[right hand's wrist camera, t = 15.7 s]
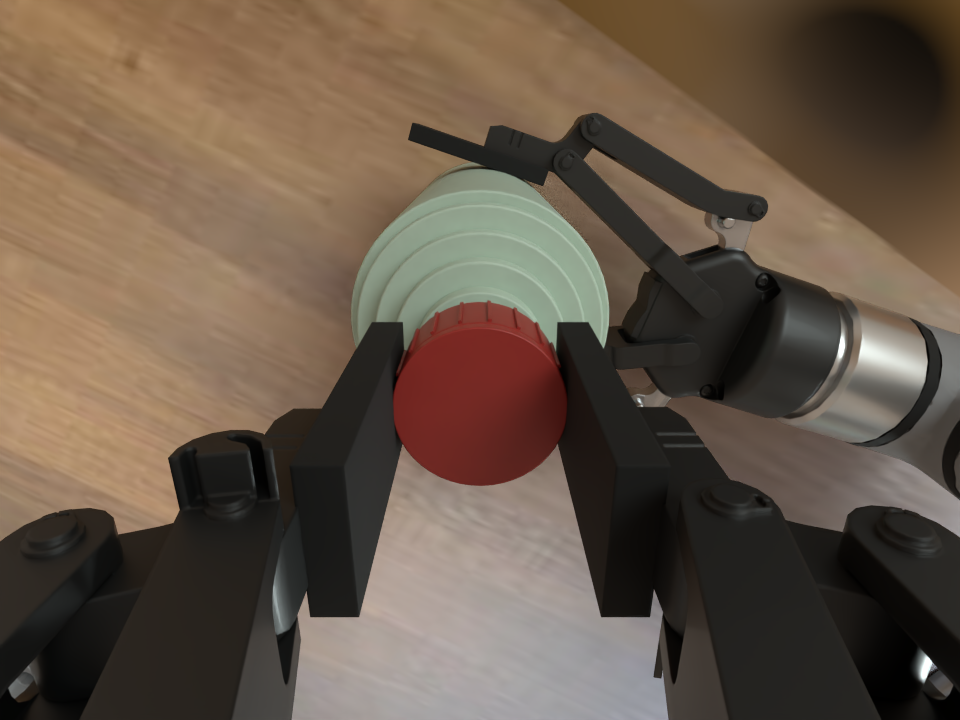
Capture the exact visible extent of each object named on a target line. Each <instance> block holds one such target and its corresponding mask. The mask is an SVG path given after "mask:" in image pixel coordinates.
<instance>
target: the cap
mask: <svg viewBox="0 0 960 720" xmlns="http://www.w3.org/2000/svg"><path fill="white" fill-rule="evenodd" d="M559 368H561V365H560V362H559V359H558V356H557V353H556V351H555V348H554V345H553V343H552V342H551V343H550V342H549V340H548V339H547V337H546V336H545V334H544V333H543V331H542V330H541V329H540V326H539V324H538V323H537V322H535V323H534V322H533V321H532V320H531V319H529V318H528V317H527V316H525V315H524V314H522V313H520V312H519V311H517V308H515V307H514V308H513V309H512V308H510V307H507V306H504V305H500V304H496V303H491V301H489V300H487V302H471V303H463V302H460V305H456V306H453V307H450V308H448V309H446V310H444V311H442V312H440V313H439V312H438V311H437V312H436V313H435V315H434V316H433V317H432V318H431V319H429V320H428V321H427V322H426V323H425V324H424V325H423V326H422V327H421V328H420V329H418V328H417V329H416V330H415V333H414V336H413V339H412V340H411V342H410V344H409V347H408V349H407V350H404V352H403V355H402V358H401V361H400V364H399V367H398V370H397V372H396V375H395V376H397V377H398V378H397V381H396V385H395V388H394V392H393V409H394V424H395V428H396V431H397V434H398V436H399V438H400V440H401V442H402V444H403V445H404V447H405V448H406V450H407V451H408V452H409V454H410V455H411V456H412V457H413V458H414V459H415V460H416V461H417V462H418V463H419V464H420V465H421V466H423V467H424V468H426V469H427V470H428V471H430V472H432V473H433V474H435V475H437V476H439V477H441V478H444V479H446V480H449V481H452V482H456V483H459V484H466V485H476V486H485V485H495V484H500V483H505V482H508V481H511V480H514V479H516V478H519V477H521V476H523V475H525V474H527V473H528V472H530V471H532V470H533V469H535V468H536V467H537V466H538V465H540V464H541V463H542V462H543V461H544V460H545V459H546V458H547V457H548V456H549V455H550V454H551V452H552V451H553V450H554V448H555V447H556V445H557V444H558V442H559V440H560V438H561V436H562V434H563V431H564V428H565V425H566V413H567V392H566V387H565V384H564V381H563V378H562V375H561V373H560V370H559Z"/></svg>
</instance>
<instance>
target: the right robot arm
mask: <svg viewBox="0 0 960 720" xmlns="http://www.w3.org/2000/svg"><path fill="white" fill-rule="evenodd" d="M403 352H404V334H403V322H372V323H371V324H370V326H369V328H368V330H367V331H366V333H365V335H364V337H363V338H362V340H361V342H360V344H359V345H358V347H357V349H356V351H355V352H354V354H353V356H352V357H351V359H350V361H349V363H348V364H347V366H346V368H345V370H344V371H343V373H342V375H341V377H340V378H339V380H338V382H337V384H336V385H335V387H334V389H333V390H332V392H331V394H330V396H329V397H328V399H327V401H326V403H325V404H324V406H323V408H322V409H292V410H291V411H289V412H288V413H286V414H285V415H283V416H281V417H280V418H278V419H277V420H275V421H274V422H273V424H272V425H271V427H270V428H269V429H268V431H267V432H266V434H265V435H264V434H262V433H258V432H254V431H250V430H229V431H223V432H217V433H211V434H208V435H205V436H202V437H199V438H196V439H193V440H191V441H190V442H188V443H186V444H184V445H183V446H181V447H179V448H177V449H176V450H175V451H174V452H173V454H172V455H171V456H170V457H169V458H168V460H169V464H170V469H171V473H172V477H173V482H174V486H175V491H176V495H177V499H178V504H179V508H180V511H179V513H178V515H177V517H176V519H175V521H174V523H172V524H168V525H164V526H160V527H155V528H150V529H145V530H140V531H135V532H129V533H124V534H119V535H118V532H117V529H116V525H115V521H114V518H113V517H112V516H111V515H110V514H108V513H107V512H106V511H103V510H98V509H92V508H85V509H73V510H72V509H69V510H64V511H59V513H57V512H55V513H52V514H48V515H45V516H43V517H42V518H40V519H38V520H36V521H33V522H31V523H29V524H26V525H24V526H23V527H21V528H19V529H18V530H16V531H15V532H13V533H12V534H10V535H9V536H7V537H5V538H4V539H3V540H2V541H0V720H292V711H293V702H294V694H295V685H296V677H297V668H298V660H299V651H300V643H301V637H300V630H299V624H298V617H297V614H298V612H299V609H300V606H301V604H302V601H303V599H304V596H305V593H306V591H307V597H308V604H309V611H310V617H359V615H360V611H361V607H362V603H363V599H364V595H365V591H366V587H367V583H368V579H369V575H370V571H371V567H372V563H373V559H374V555H375V551H376V547H377V543H378V539H379V535H380V531H381V527H382V523H383V519H384V515H385V511H386V507H387V503H388V499H389V495H390V491H391V487H392V483H393V479H394V475H395V471H396V467H397V463H398V459H399V455H400V451H401V447H402V442H401V440H400V438H399V436H398V434H397V431H396V428H395V424H394V409H393V392H394V388H395V385H396V381H397V378H398V377H397V376H395V375H396V372H397V370H398V367H399V364H400V361H401V358H402V355H403ZM556 353H557V356H558V359H559V362H560V365H561V368H559V370H560V373H561V375H562V378H563V381H564V384H565V387H566V392H567V413H566V425H565V428H564V431H563V434H562V436H561V438H560V440H559V442H558V446H559V450H560V454H561V458H562V462H563V466H564V470H565V474H566V478H567V482H568V486H569V490H570V494H571V498H572V502H573V506H574V510H575V514H576V518H577V522H578V526H579V530H580V534H581V538H582V542H583V546H584V550H585V554H586V558H587V562H588V566H589V570H590V574H591V578H592V582H593V586H594V590H595V594H596V598H597V602H598V606H599V610H600V614H601V617H650V613H651V606H652V599H653V592H654V590H655V592H656V595H657V597H658V600H659V603H660V605H661V608H662V611H663V617H662V624H661V630H660V637H659V644H658V650H657V657H656V664H655V671H654V677H655V678H661V677H662V671H663V676H664V684H665V693H666V701H667V710H668V718H669V720H960V538H959V537H958V536H957V535H956V534H954V533H952V532H951V531H949V530H948V529H946V528H945V527H943V526H941V525H940V524H938V523H937V522H934V521H932V520H930V519H927V518H925V517H923V516H920V515H919V514H917V513H915V512H912V511H908V510H902V509H901V508H895V507H884V506H872V505H871V506H865V507H860V508H856V509H854V510H853V511H852V512H851V513H850V514H848V516H847V519H846V523H845V526H844V530H843V532H839V531H834V530H829V529H824V528H818V527H813V526H808V525H803V524H799V523H795V522H791V521H787V520H785V518H784V516H783V514H782V512H781V510H780V508H779V507H778V506H777V505H776V504H775V502H774V501H773V500H772V499H771V498H770V497H768V496H767V495H765V494H764V493H762V492H761V491H759V490H758V489H756V488H753V487H751V486H748V485H746V484H743V483H741V482H737V481H732V480H730V479H729V478H728V476H727V475H726V474H725V472H724V471H723V469H722V468H721V467H720V465H719V464H718V462H717V461H716V460H715V458H714V457H713V456H712V454H711V453H710V451H709V450H708V449H707V447H704V443H703V442H702V440H701V439H700V438H699V436H696V432H695V431H694V429H693V428H692V427H691V425H690V424H689V422H688V421H687V420H686V419H685V418H684V417H682V416H681V415H679V414H677V413H676V412H674V411H673V410H671V409H670V408H668V407H637V406H636V404H635V402H634V400H633V399H632V397H631V395H630V393H629V392H628V390H627V388H626V386H625V385H624V383H623V381H622V380H621V378H620V376H619V374H618V373H617V371H616V369H615V367H614V366H613V364H612V362H611V360H610V359H609V357H608V355H607V353H606V352H605V350H604V348H603V347H602V345H601V343H600V341H599V340H598V338H597V336H596V334H595V333H594V331H593V329H592V327H591V326H590V324H589V322H557V339H556ZM932 663H934V664H935V665H936V666H937V667H938V669H939V670H940V671H941V672H942V673H943V674H944V675H945V676H946V677H947V678H948V680H949V681H950V682H951V683H952V684H953V687H952V689H951V692H950V694H949V695H948V696H945V695H944V694H943V693H941V692H940V691H939V690H938V689H937V688H936V687H935V686H934V685H933V684H932V682H931V681H930V680H929V679H928V678H927V676H928V673H929V671H930V668H931V665H932Z"/></svg>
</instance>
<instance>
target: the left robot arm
mask: <svg viewBox="0 0 960 720" xmlns="http://www.w3.org/2000/svg"><path fill="white" fill-rule="evenodd" d="M408 140H410V141H413V142H416V143H419V144H421V145H424V146H427V147H430V148H433V149H436V150H439V151H442V152H445V153H448V154H451V155H454V156H457V157H459V158H462V159H465V160H468V161H471V162H474V163H477V164H480V165H483V166H486V167H489V168H492V169H494V170H497V171H500V172H503V173H506V174H509V175H512V176H515V177H518V178H521V179H524V180H527V181H529V182H532V183H535V184H538V185H541V186H543V185H544V182H545V179H546V177H547V174H548V171H551V172H554V173H555V174H556V175H557V176H558V177H559V178H560V179H561V180H562V181H563V182H564V183H565V184H566V185H567V186H568V187H569V188H570V189H571V190H572V191H573V192H574V193H575V194H576V195H577V196H578V197H579V198H580V199H581V200H582V201H583V202H584V203H585V204H586V205H587V206H588V207H589V208H590V209H591V210H592V211H593V212H594V213H595V214H596V215H597V216H598V217H599V218H600V219H601V220H602V221H603V222H604V223H605V224H606V225H607V226H608V227H609V228H610V229H611V230H612V231H613V232H614V233H615V234H616V235H617V236H618V237H619V238H620V239H621V240H622V241H623V242H624V243H625V244H626V245H627V246H628V247H629V248H630V249H631V250H632V251H633V252H634V253H635V254H636V255H637V256H638V257H639V258H640V259H641V260H642V261H643V262H644V263H645V264H646V265H647V266H648V267H649V268H650V269H651V270H650V271H649V272H644V274H643V277H642V279H641V281H640V283H639V288H638V294H637V299H636V301H635V302H634V304H633V305H632V306H631V308H630V309H629V310H628V311H627V313H626V316H625V318H624V320H623V323H622V325H623V326H614V327H608V332H607V338H606V343H605V346H604V350H605V352H606V353H607V355H608V357H609V359H610V360H611V362H612V364H613V366H614V367H615V369H620V370H621V369H633V368H643V369H644V370H645V372H646V373H647V374H648V376H649V377H650V379H651V380H652V382H653V383H652V384H651V385H650V386H649V387H647V388H644V389H639V388H627V390H628V392H629V393H630V395H631V397H632V399H633V400H634V402H635V404H636V406H637V407H665V406H666V404H667V403H668V401H669V400H670V399H671V397H672V398H679V397H685V396H698V397H701V398H704V399H707V400H710V401H713V402H716V403H719V404H723V405H726V406H729V407H733V408H736V409H739V410H742V411H746V412H749V413H752V414H755V415H759V416H762V417H765V418H775V419H776V420H777V421H779V422H781V423H784V424H786V425H790V426H793V427H797V428H800V429H804V430H807V431H811V432H814V433H818V434H821V435H825V436H828V437H832V438H835V439H839V440H842V441H845V442H847V443H850V444H853V445H856V446H861V447H864V448H867V449H870V450H873V451H876V452H879V453H882V454H885V455H888V456H891V457H895V458H898V459H900V460H903V461H905V462H907V463H909V464H911V465H913V466H915V467H917V468H918V469H920V470H921V471H923V472H924V473H925V474H927V475H928V476H929V477H930V478H932V479H933V480H934V481H936V482H937V483H938V484H940V485H941V486H942V487H943V488H945V489H946V490H947V491H949V492H950V493H951V494H953V495H954V496H955V497H957V498H958V499H959V500H960V335H959V334H956V333H953V332H949V331H946V330H943V329H940V328H937V327H933V326H930V325H927V324H924V323H921V322H918V321H916V320H914V319H912V318H909V317H907V316H905V315H902V314H899V313H896V312H893V311H890V310H887V309H884V308H881V307H878V306H876V305H873V304H870V303H867V302H864V301H861V300H858V299H855V298H852V297H849V296H847V295H844V294H840V293H836V292H828V291H827V290H826V289H824V288H822V287H820V286H817V285H814V284H811V283H808V282H805V281H803V280H800V279H797V278H794V277H791V276H788V275H785V274H782V273H779V272H776V271H773V270H770V269H767V268H765V267H762V266H759V265H757V264H755V263H754V262H753V261H752V259H751V258H750V257H749V255H748V254H747V253H746V252H745V251H744V249H745V246H746V242H747V239H748V236H749V233H750V230H751V227H752V223H753V222H755V221H758V220H761V219H762V218H763V217H764V216H765V214H766V213H767V210H768V204H767V201H766V200H765V199H764V198H763V197H761V196H757V195H753V194H748V193H744V192H739V191H733V190H727V189H722V188H720V187H718V186H717V185H715V184H714V183H712V182H710V181H709V180H707V179H705V178H704V177H702V176H701V175H699V174H697V173H696V172H694V171H692V170H691V169H689V168H688V167H686V166H684V165H683V164H681V163H679V162H678V161H676V160H675V159H673V158H671V157H670V156H668V155H666V154H665V153H663V152H662V151H660V150H658V149H657V148H655V147H653V146H652V145H650V144H648V143H647V142H645V141H644V140H642V139H640V138H639V137H637V136H635V135H634V134H632V133H631V132H629V131H627V130H626V129H624V128H622V127H621V126H619V125H618V124H616V123H614V122H613V121H611V120H609V119H608V118H606V117H605V116H603V115H601V114H598V113H591V114H586V115H582V116H580V117H578V118H577V119H576V121H575V122H574V125H573V126H572V127H571V129H570V130H569V131H568V132H567V134H566V135H565V136H564V137H563V138H562V139H561V140H559V141H557V142H548V141H545V140H542V139H540V138H537V137H534V136H531V135H528V134H525V133H523V132H520V131H517V130H514V129H511V128H508V127H506V126H503V125H500V126H490V128H489V132H488V135H487V138H486V142H485V145H484V146H481V145H478V144H475V143H472V142H469V141H467V140H464V139H461V138H458V137H455V136H452V135H449V134H446V133H443V132H441V131H438V130H435V129H432V128H429V127H426V126H423V125H420V124H416V123H412V127H411V130H410V134H409V138H408ZM592 148H594V149H595V150H597V151H599V152H600V153H602V154H604V155H605V156H607V157H609V158H610V159H612V160H614V161H615V162H617V163H619V164H620V165H622V166H624V167H625V168H627V169H629V170H630V171H632V172H634V173H635V174H637V175H639V176H640V177H642V178H644V179H645V180H647V181H649V182H650V183H652V184H654V185H655V186H657V187H659V188H660V189H662V190H664V191H665V192H667V193H669V194H670V195H672V196H674V197H675V198H677V199H679V200H680V201H682V202H684V203H685V204H687V205H689V206H691V207H694V208H697V209H699V210H702V211H705V212H706V214H705V219H704V220H705V224H706V226H707V227H708V228H709V229H711V230H713V231H715V232H716V233H717V235H718V237H719V243H718V245H714V246H711V247H708V248H704V249H701V250H698V251H695V252H692V253H688V254H685V255H682V256H678V255H677V254H676V253H675V252H674V251H673V250H672V249H671V248H670V247H669V246H668V245H666V244H665V243H664V242H663V241H662V240H661V239H660V238H659V237H658V236H657V235H656V234H655V233H654V232H653V231H652V230H651V229H650V228H649V227H648V226H647V225H646V224H645V223H644V221H643V220H642V219H641V218H640V217H639V216H638V215H637V214H636V213H635V212H634V211H633V210H632V209H631V208H630V207H629V206H628V205H627V204H626V203H625V202H624V201H623V200H622V199H621V198H620V197H619V196H618V195H617V194H616V193H615V192H614V191H613V190H612V189H611V188H610V187H609V186H608V185H607V184H606V183H605V182H604V181H603V180H602V179H601V178H600V177H599V176H598V175H597V174H596V173H595V172H594V171H593V170H592V168H591V167H590V166H589V165H588V164H587V163H586V162H585V161H584V160H583V159H584V158H585V157H586V155H587V154H588V153H589V152H590V150H591V149H592ZM928 679H929V680H930V681H931V682H932V684H933V685H934V686H935V687H936V688H937V689H938V690H939V691H940V692H941V693H943V694H944V695H945V696H948V695H949V694H950V692H951V689H952V687H953V684H952V683H951V682H950V681H949V680H948V678H947V677H946V676H945V675H944V674H943V673H942V672H941V671H940V670H939V671H938V672H936V673H934V674H933V675H932V676H930V677H929V678H928Z"/></svg>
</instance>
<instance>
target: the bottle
mask: <svg viewBox="0 0 960 720" xmlns="http://www.w3.org/2000/svg"><path fill="white" fill-rule="evenodd" d="M487 300H489V301H491V303H496V304H500V305H504V306H507V307H510V308H512V309H513V308H514V307H515V308H517V311H519V312H520V313H522V314H524V315H525V316H527V317H528V318H529V319H531V320H532V321H533V322H534V323H535V322H537V323H538V324H539V326H540V329H541V330H542V331H543V333H544V334H545V336H546V337H547V339H548V340H549V342H550V343H551V342H552V343H553V345H554V348H555V351H556V339H557V322H589V324H590V326H591V327H592V329H593V331H594V333H595V334H596V336H597V338H598V340H599V341H600V343H601V345H602V347H603V348H604V346H605V343H606V338H607V332H608V326H609V302H608V293H607V289H606V285H605V281H604V277H603V274H602V272H601V269H600V267H599V264H598V262H597V260H596V258H595V256H594V255H593V253H592V251H591V249H590V248H589V246H588V245H587V243H586V242H585V241H584V240H583V238H582V237H581V236H580V234H579V233H578V232H577V231H576V230H575V229H574V228H573V227H572V226H571V225H570V224H569V223H568V222H567V221H566V220H565V219H564V218H563V217H562V216H561V215H560V214H559V213H558V212H557V211H556V210H555V209H554V208H553V207H552V206H551V205H550V204H549V203H548V202H547V201H546V200H545V199H544V198H543V197H542V196H541V195H540V194H539V193H538V192H537V191H536V190H535V189H534V188H533V187H532V186H531V185H530V184H529V183H528V182H527V181H526V180H524V179H521V178H518V177H515V176H512V175H509V174H506V173H503V172H500V171H497V170H494V169H492V168H489V167H486V166H483V165H480V164H477V163H474V162H472V163H466V164H462V165H459V166H456V167H454V168H451V169H449V170H447V171H446V172H444V173H443V174H441V175H440V176H438V177H437V178H436V179H435V180H434V181H433V182H432V183H431V184H430V185H429V186H428V187H427V188H426V189H425V190H424V191H423V192H422V193H421V194H420V195H419V196H418V197H417V198H416V199H415V200H414V201H413V202H412V203H411V204H410V205H409V206H408V207H407V208H406V209H405V210H404V211H403V212H402V213H401V214H400V215H399V216H398V217H397V218H396V219H395V220H394V221H393V222H392V223H391V224H390V225H389V226H388V227H387V228H386V229H385V230H384V231H383V232H382V233H381V235H380V236H379V237H378V238H377V239H376V241H375V242H374V243H373V245H372V246H371V248H370V250H369V251H368V253H367V254H366V256H365V258H364V260H363V262H362V264H361V267H360V269H359V271H358V274H357V277H356V281H355V284H354V288H353V294H352V301H351V325H352V333H353V338H354V342H355V346H356V349H357V347H358V345H359V344H360V342H361V340H362V338H363V337H364V335H365V333H366V331H367V330H368V328H369V326H370V324H371V323H372V322H403V334H404V350H407V349H408V347H409V344H410V342H411V340H412V339H413V336H414V333H415V330H416V329H417V328H418V329H420V328H421V327H422V326H423V325H424V324H425V323H426V322H427V321H428V320H429V319H431V318H432V317H433V316H434V315H435V313H436V312H437V311H438V312H439V313H440V312H442V311H444V310H446V309H448V308H450V307H453V306H456V305H460V302H463V303H471V302H487Z"/></svg>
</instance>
